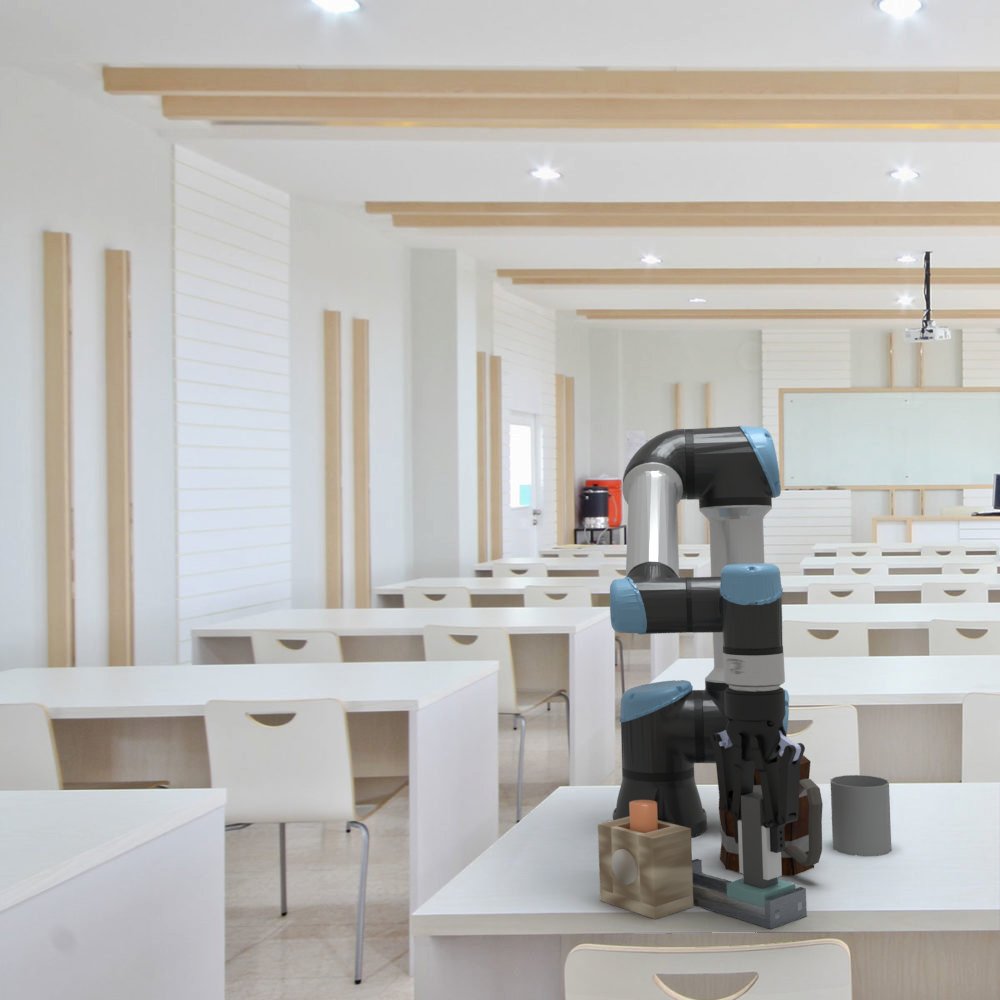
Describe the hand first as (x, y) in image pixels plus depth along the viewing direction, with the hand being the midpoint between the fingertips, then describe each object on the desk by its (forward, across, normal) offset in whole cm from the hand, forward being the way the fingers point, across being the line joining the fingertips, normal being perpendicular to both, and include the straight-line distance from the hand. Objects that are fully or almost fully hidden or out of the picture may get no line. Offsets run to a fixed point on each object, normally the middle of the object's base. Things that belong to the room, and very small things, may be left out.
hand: (760, 873), depth 147 cm
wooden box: (+5, -13, -8) cm, 16 cm away
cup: (+5, -9, +34) cm, 36 cm away
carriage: (+3, 0, 0) cm, 3 cm away
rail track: (+5, -5, 0) cm, 7 cm away
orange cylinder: (0, -13, -8) cm, 15 cm away
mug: (+5, -11, +17) cm, 21 cm away
